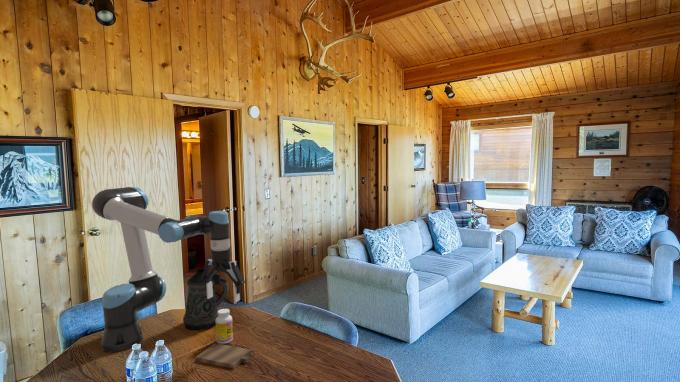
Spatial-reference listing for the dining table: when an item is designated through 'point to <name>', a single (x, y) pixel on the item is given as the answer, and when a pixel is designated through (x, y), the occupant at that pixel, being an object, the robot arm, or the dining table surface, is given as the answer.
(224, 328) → the supplement bottle
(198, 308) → the beer stein
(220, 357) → the walnut board
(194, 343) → the dining table surface
